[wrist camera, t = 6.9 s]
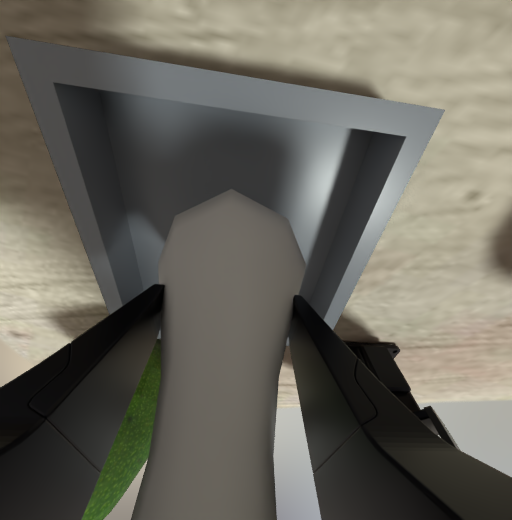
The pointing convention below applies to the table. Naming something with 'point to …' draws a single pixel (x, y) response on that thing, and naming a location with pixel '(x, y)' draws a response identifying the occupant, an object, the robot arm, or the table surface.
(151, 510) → the flask
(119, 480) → the avocado
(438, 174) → the table surface
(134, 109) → the serving bin
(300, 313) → the robot arm
